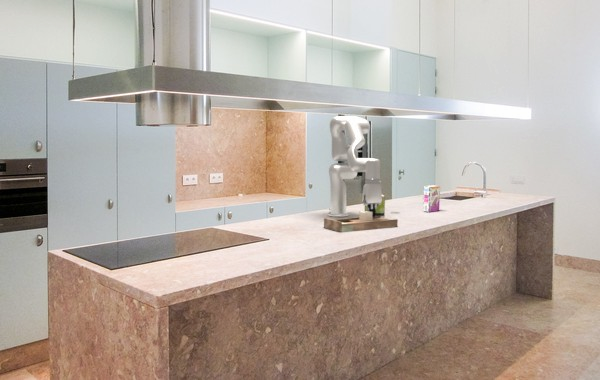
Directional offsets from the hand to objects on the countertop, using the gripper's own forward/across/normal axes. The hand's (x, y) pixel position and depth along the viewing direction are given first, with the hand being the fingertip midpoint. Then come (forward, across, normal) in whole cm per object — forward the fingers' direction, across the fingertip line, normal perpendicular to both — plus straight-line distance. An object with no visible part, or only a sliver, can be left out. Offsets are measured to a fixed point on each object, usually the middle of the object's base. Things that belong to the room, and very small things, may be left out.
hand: (372, 216), depth 275 cm
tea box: (+5, -11, -14) cm, 18 cm away
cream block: (+2, +5, 0) cm, 5 cm away
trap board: (+5, +10, +3) cm, 11 cm away
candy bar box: (+5, -65, -27) cm, 71 cm away
